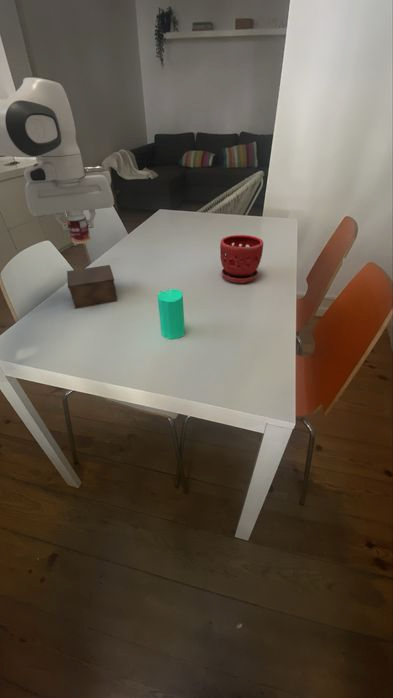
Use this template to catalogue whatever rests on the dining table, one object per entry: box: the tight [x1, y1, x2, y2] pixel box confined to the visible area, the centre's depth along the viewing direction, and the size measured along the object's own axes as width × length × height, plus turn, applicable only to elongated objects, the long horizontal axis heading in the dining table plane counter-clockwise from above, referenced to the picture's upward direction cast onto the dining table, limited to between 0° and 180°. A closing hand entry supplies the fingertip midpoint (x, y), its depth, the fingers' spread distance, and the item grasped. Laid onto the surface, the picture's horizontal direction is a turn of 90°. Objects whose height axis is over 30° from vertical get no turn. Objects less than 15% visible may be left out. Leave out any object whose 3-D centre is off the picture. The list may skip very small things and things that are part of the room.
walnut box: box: [66, 264, 118, 309], centre depth 93 cm, size 12×10×7 cm
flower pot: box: [219, 234, 264, 284], centre depth 100 cm, size 13×13×12 cm
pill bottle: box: [66, 209, 91, 245], centre depth 82 cm, size 5×5×8 cm
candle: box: [157, 288, 186, 340], centre depth 76 cm, size 6×6×12 cm
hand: (78, 229), depth 83 cm, fingers closed on pill bottle, 5 cm apart
